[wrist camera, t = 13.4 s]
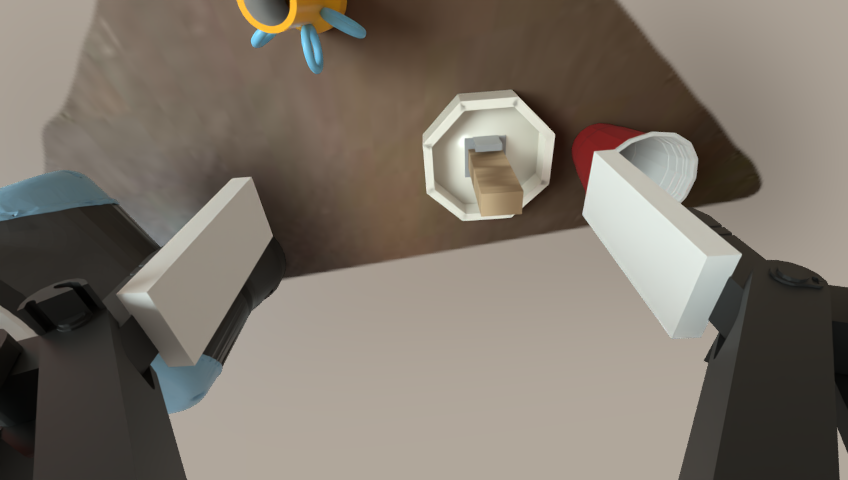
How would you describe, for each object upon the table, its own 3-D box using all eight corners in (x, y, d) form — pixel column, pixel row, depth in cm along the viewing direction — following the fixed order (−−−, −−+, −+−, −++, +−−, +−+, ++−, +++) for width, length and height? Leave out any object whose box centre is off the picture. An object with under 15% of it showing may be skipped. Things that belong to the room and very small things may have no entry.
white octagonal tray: (428, 210, 51) (429, 224, 48) (419, 97, 43) (419, 105, 40) (538, 202, 51) (545, 216, 48) (550, 86, 42) (561, 94, 39)
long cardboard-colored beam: (468, 168, 47) (481, 216, 37) (468, 149, 45) (481, 194, 35) (500, 166, 47) (521, 213, 37) (501, 146, 45) (523, 191, 35)
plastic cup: (632, 180, 49) (686, 228, 39) (549, 189, 50) (581, 239, 40) (650, 94, 43) (719, 125, 33) (555, 106, 44) (595, 140, 34)
